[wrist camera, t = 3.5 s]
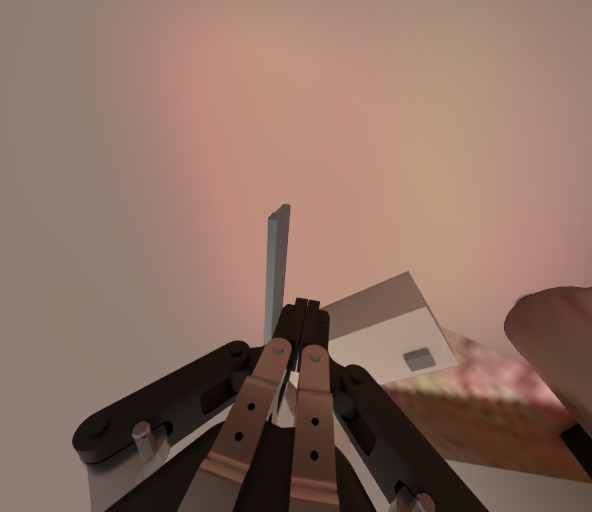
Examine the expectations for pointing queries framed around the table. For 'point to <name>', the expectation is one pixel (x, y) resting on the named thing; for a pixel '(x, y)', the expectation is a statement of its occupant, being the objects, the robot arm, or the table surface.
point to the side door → (275, 268)
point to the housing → (387, 332)
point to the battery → (580, 447)
